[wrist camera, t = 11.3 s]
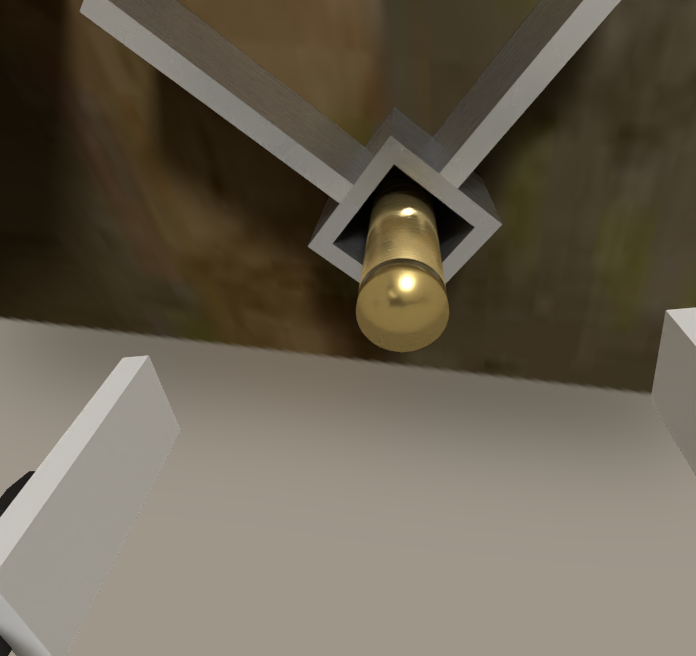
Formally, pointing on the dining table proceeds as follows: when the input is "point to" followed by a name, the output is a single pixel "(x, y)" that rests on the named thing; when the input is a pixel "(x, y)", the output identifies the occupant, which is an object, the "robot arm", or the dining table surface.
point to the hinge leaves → (391, 137)
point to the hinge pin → (402, 268)
